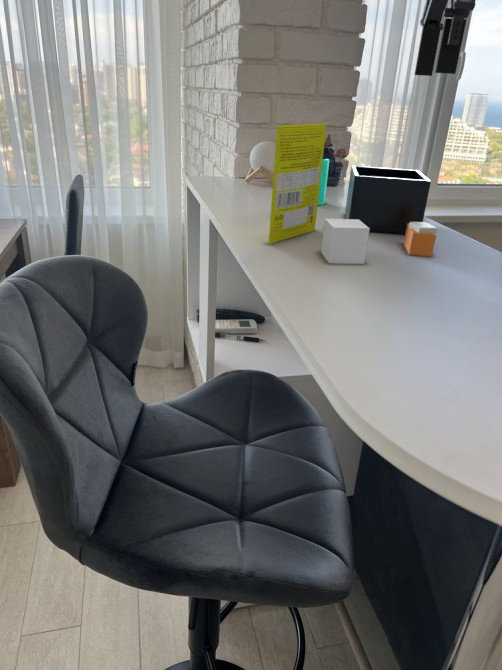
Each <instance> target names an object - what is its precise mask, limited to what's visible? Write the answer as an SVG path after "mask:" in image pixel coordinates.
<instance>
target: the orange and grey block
mask: <svg viewBox="0 0 502 670" xmlns="http://www.w3.org/2000/svg"><path fill="white" fill-rule="evenodd" d="M437 231H438V228H437V227H436V226H434V225H432V224H431V223H429V222H427V221H423V222H410V223H407V228H406V233H405V235H404V238H403V246H404V248H405V250H406V252H407V254H408V255H409V256H419V257H429V258H431V257H433V252H434V248H435V243H436V238H437Z"/></svg>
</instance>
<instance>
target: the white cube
mask: <svg viewBox="0 0 502 670" xmlns="http://www.w3.org/2000/svg"><path fill="white" fill-rule="evenodd" d="M369 230H370V228H369V227H367V226H366V225H365V224H364V223H362V222H361V221H360V220H359V219H346V218H324V222H323V232H322V240H321V249H320V253H321V255H322V256H323V257H324V258H325V260H326V261H327V263H328V264H338V265H339V264H340V265H341V264H342V265H343V264H344V265H345V264H346V265H347V264H348V265H349V264H350V265H365V261H366V255H367V248H368V241H369V236H370V232H369Z"/></svg>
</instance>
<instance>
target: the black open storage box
mask: <svg viewBox="0 0 502 670" xmlns="http://www.w3.org/2000/svg"><path fill="white" fill-rule="evenodd" d="M431 184H432V181H431V180H430V179H429V178H428V177H427V176H426V175H424V174H423V173H422V172H421V171H420V170H418V169H406V168H405V169H404V168H391V167H389V168H388V167H377V166H376V167H374V166H361V165H359V166H358V165H351V166H350V173H349V181H348V187H347V188H348V189H347V196H346V204H345V211H344V216H345V217H344V218H345V219H359V220H360V221H361V222H362V223H364V224H365V225H366V226H367V227H369V228H370V230H369V233H379V234H391V235H403V236H405V233H406V228H407V223H410V222H424V218H425V212H426V209H427V202H428V199H429V193H430V188H431Z"/></svg>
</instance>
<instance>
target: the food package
mask: <svg viewBox="0 0 502 670" xmlns="http://www.w3.org/2000/svg"><path fill="white" fill-rule="evenodd" d="M326 131H327V123H308V124H307V123H306V124H305V123H304V124H284V125H283V124H281V125H280V124H279V125H276V132H275V147H274V148H275V149H274V163H273V177H272V190H271V191H272V192H271V206H270V222H269V234H268V245H271V244H274V243H277V242H281V241H284V240H287V239H291V238H293V237H296V236H300V235H303V234H307V233H310V232H313V231H315V230H316V224H317V223H316V222H317V215H318V206H319V205H318V197H319V188H320V179H321V170H322V161H323V160H324V151H325V142H326V133H327V132H326Z"/></svg>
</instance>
